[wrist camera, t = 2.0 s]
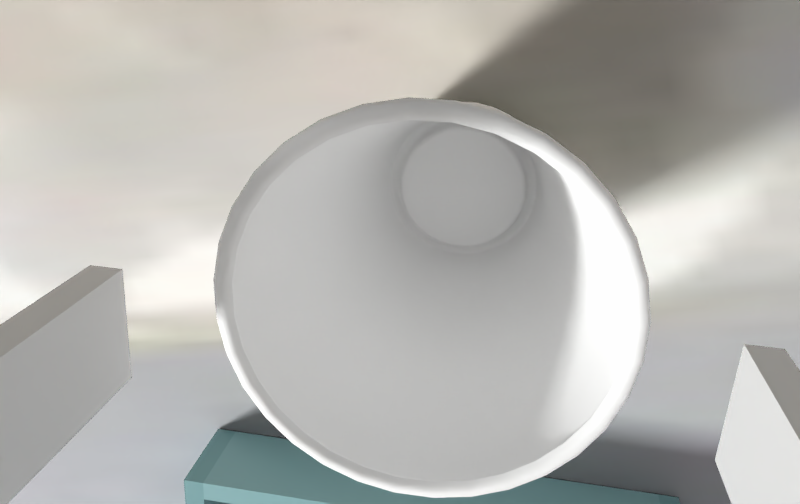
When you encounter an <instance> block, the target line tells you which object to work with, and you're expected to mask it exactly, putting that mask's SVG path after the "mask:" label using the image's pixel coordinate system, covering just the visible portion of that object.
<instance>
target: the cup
mask: <svg viewBox="0 0 800 504" xmlns="http://www.w3.org/2000/svg"><path fill="white" fill-rule="evenodd" d="M214 291H215V305H216V318H217V321H218V325H219V329H220V332H221V336H222V340H223V343H224V347H225V350H226V354H227V356H228V358H229V360H230V362H231V364H232V366H233V368H234V370H235V372H236V374H237V376H238V378H239V380H240V382H241V384H242V386H243V388H244V389H245V390H246V392H247V393H248V395H249V396H250V397H251V399H252V400H253V401H254V403H255V404H256V405H257V407H258V408H259V409H260V411H261V412H262V414H263V415H264V416H265V417H266V418H267V419H268V420H269V421H270V422H271V423H272V424H273V425H274V426H275V427H276V428H277V429H278V430H279V431H280V432H281V433H282V434H283V435H284V436H285V437H286V438H287V439H288V440H289V441H290V442H291V443H293V444H294V445H295V446H297V447H298V448H300V449H301V450H303V451H304V452H306V453H307V454H308V455H310V456H311V457H313V458H314V459H316V460H317V461H319V462H320V463H321V464H323V465H325V466H327V467H329V468H331V469H333V470H335V471H337V472H339V473H341V474H343V475H346V476H348V477H350V478H352V479H354V480H356V481H358V482H361V483H365V484H368V485H371V486H375V487H378V488H381V489H385V490H388V491H391V492H395V493H401V494H409V495H416V496H424V497H431V498H445V497H473V496H479V495H484V494H489V493H494V492H499V491H504V490H509V489H512V488H515V487H517V486H520V485H523V484H525V483H528V482H530V481H533V480H536V479H538V478H541V477H543V476H546V475H547V474H549V473H551V472H552V471H554V470H555V469H557V468H559V467H560V466H562V465H564V464H565V463H567V462H569V461H570V460H572V459H573V458H575V457H577V456H578V455H579V454H580V453H581V452H582V451H584V450H585V449H586V448H587V447H588V446H589V445H590V444H591V443H592V442H593V441H594V440H595V439H596V438H598V437H599V436H600V435H601V434H602V433H603V432H604V431H605V430H606V429H607V427H608V426H609V425H610V423H611V422H612V420H613V419H614V418H615V416H616V415H617V413H618V412H619V411H620V409H621V408H622V406H623V405H624V403H625V402H626V401H627V399H628V398H629V396H630V393H631V391H632V389H633V386H634V384H635V381H636V379H637V377H638V374H639V372H640V370H641V367H642V365H643V362H644V358H645V352H646V347H647V341H648V335H649V329H650V324H651V315H650V297H649V280H648V276H647V272H646V269H645V265H644V262H643V258H642V255H641V251H640V248H639V244H638V241H637V237H636V236H635V234H634V232H633V230H632V228H631V226H630V225H629V223H628V221H627V219H626V217H625V215H624V214H623V212H622V210H621V208H620V206H619V204H618V203H617V201H616V199H615V198H614V196H613V195H612V194H611V193H610V192H609V191H608V189H607V188H606V187H605V186H604V185H603V184H602V182H601V181H600V180H599V179H598V178H597V177H596V175H595V174H594V173H593V172H592V171H591V170H590V169H589V167H588V166H587V165H586V164H585V163H584V162H583V161H581V160H580V159H579V158H578V157H576V156H575V155H574V154H572V153H571V152H570V151H568V150H567V149H566V148H565V147H563V146H562V145H561V144H559V143H558V142H557V141H555V140H554V139H553V138H551V137H550V136H549V135H548V134H546V133H544V132H542V131H540V130H538V129H536V128H534V127H532V126H530V125H527V124H525V123H523V122H521V121H519V120H517V119H515V118H513V117H512V116H511V115H509V114H507V113H505V112H503V111H501V110H499V109H497V108H495V107H492V106H488V105H484V104H480V103H477V102H461V101H457V100H441V99H424V98H402V99H395V100H388V101H381V102H374V103H367V104H362V105H359V106H356V107H353V108H351V109H348V110H345V111H342V112H340V113H337V114H334V115H331V116H329V117H326V118H323V119H320V120H319V121H317V122H316V123H314V124H312V125H311V126H309V127H308V128H306V129H304V130H303V131H301V132H300V133H298V134H296V135H295V136H293V137H292V138H290V139H288V140H287V141H285V142H284V143H283V144H282V145H281V146H280V147H279V148H278V149H277V150H276V151H275V152H274V153H273V154H272V155H271V156H269V157H268V158H267V159H266V160H265V161H264V162H263V163H262V164H261V165H260V166H259V167H258V168H257V169H256V170H255V171H254V173H253V174H252V176H251V177H250V179H249V180H248V182H247V183H246V185H245V187H244V188H243V190H242V191H241V193H240V194H239V196H238V197H237V199H236V200H235V202H234V204H233V205H232V207H231V210H230V213H229V216H228V218H227V221H226V224H225V226H224V229H223V232H222V235H221V237H220V240H219V244H218V252H217V259H216V266H215V273H214Z"/></svg>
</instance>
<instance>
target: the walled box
mask: <svg viewBox="0 0 800 504" xmlns="http://www.w3.org/2000/svg"><path fill="white" fill-rule="evenodd" d="M184 488H185V502H186V504H680V502H679V498H678V497H672V496H666V495H659V494H652V493H646V492H639V491H632V490H625V489H619V488H612V487H605V486H599V485H592V484H585V483H578V482H572V481H565V480H558V479H552V478H545V477H541V478H538V479H536V480H533V481H530V482H528V483H525V484H523V485H520V486H517V487H515V488H512V489H509V490H504V491H499V492H494V493H489V494H484V495H479V496H473V497H445V498H431V497H424V496H416V495H409V494H401V493H395V492H391V491H388V490H385V489H381V488H378V487H375V486H371V485H368V484H365V483H361V482H358V481H356V480H354V479H352V478H350V477H348V476H346V475H343V474H341V473H339V472H337V471H335V470H333V469H331V468H329V467H327V466H325V465H323V464H321V463H320V462H319V461H317V460H316V459H314V458H313V457H311V456H310V455H308V454H307V453H306V452H304V451H303V450H301V449H300V448H298V447H297V446H295V445H294V444H293V443H291V442H290V441H289V440H288V439H283V438H276V437H270V436H263V435H256V434H250V433H243V432H236V431H229V430H223V429H218V430H217V432H216V433H215V435H214V436H213V438H212V439H211V441H210V442H209V444H208V445H207V447H206V448H205V450H204V451H203V452H202V454H201V455H200V457H199V458H198V460H197V461H196V463H195V464H194V466H193V467H192V469H191V470H190V472H189V473H188V475H187V476H186V478H185V479H184Z"/></svg>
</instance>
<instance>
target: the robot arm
mask: <svg viewBox="0 0 800 504" xmlns="http://www.w3.org/2000/svg"><path fill="white" fill-rule="evenodd" d="M131 378H132V374H131V362H130V351H129V339H128V328H127V317H126V305H125V294H124V283H123V271H122V269H116V268H108V267H100V266H91V265H90V266H88V267H87V268H85V269H84V270H82V271H81V272H79V273H78V274H76V275H75V276H73V277H72V278H70V279H69V280H67V281H66V282H64V283H63V284H61V285H60V286H58V287H57V288H55V289H54V290H52V291H51V292H49V293H48V294H46V295H45V296H43V297H42V298H40V299H39V300H37V301H36V302H34V303H32V304H31V305H29V306H28V307H26V308H25V309H23V310H22V311H20V312H19V313H17V314H16V315H14V316H13V317H11V318H10V319H8V320H7V321H5V322H4V323H2V324H1V325H0V504H8V503H9V502H10V501H11V500H12V499H13V498H14V497H15V496H16V495H17V494H18V493H19V492H20V491H21V490H22V489H23V488H24V487H25V486H26V484H27V483H28V482H29V481H30V480H31V479H32V478H33V477H34V476H35V475H36V474H37V473H38V472H39V471H40V470H41V469H42V468H43V467H44V466H45V465H46V464H47V463H48V462H49V461H50V460H51V459H52V458H53V457H54V456H55V455H56V454H57V453H58V452H59V451H60V450H61V449H62V448H63V447H64V446H65V445H66V444H67V443H68V442H69V441H70V440H71V439H72V438H73V437H74V436H75V435H76V434H77V433H78V432H79V431H80V430H81V429H82V428H83V427H84V426H85V425H86V424H87V423H88V422H89V421H90V420H91V419H92V418H93V417H94V416H95V415H96V414H97V412H98V411H99V410H100V409H101V408H102V407H103V406H104V405H105V404H106V403H107V402H108V401H109V400H110V399H111V398H112V397H113V396H114V395H115V394H116V393H117V392H118V391H119V390H120V389H121V388H122V387H123V386H124V385H125V384H126V383H127V382H128V381H129V380H130V379H131ZM715 462H716V464H717V467H718V470H719V472H720V475H721V478H722V480H723V483H724V485H725V488H726V491H727V493H728V496H729V499H730V501H731V504H800V370H799V369H798V368H797V366H796V365H795V363H794V362H793V360H792V359H791V357H790V356H789V354H788V353H787V351H786V350H785V349H780V348H772V347H763V346H755V345H747V344H744V346H743V350H742V354H741V358H740V362H739V366H738V370H737V374H736V378H735V382H734V386H733V390H732V394H731V398H730V402H729V406H728V410H727V414H726V418H725V422H724V426H723V429H722V433H721V437H720V441H719V445H718V449H717V453H716V457H715Z"/></svg>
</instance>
